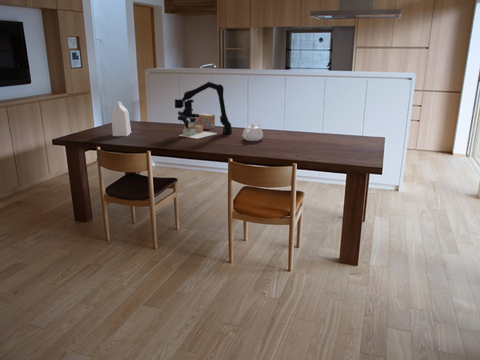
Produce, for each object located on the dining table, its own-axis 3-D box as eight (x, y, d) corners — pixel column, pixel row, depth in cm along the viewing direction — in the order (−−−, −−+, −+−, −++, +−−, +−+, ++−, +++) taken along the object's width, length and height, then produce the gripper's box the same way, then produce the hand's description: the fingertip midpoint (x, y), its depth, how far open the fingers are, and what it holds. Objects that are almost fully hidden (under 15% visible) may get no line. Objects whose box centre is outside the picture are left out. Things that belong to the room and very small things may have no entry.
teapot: (255, 144, 301) (255, 127, 297) (236, 141, 308) (236, 125, 304) (268, 137, 322) (269, 121, 318) (250, 135, 329) (251, 120, 325)
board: (217, 134, 333) (217, 133, 333) (197, 139, 315) (197, 138, 315) (199, 131, 345) (199, 130, 345) (178, 136, 327) (178, 135, 327)
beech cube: (193, 128, 328) (193, 122, 326) (189, 129, 324) (188, 123, 323) (189, 127, 331) (188, 121, 329) (184, 128, 327) (184, 122, 326)
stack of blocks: (191, 127, 361) (190, 113, 357) (195, 126, 366) (195, 112, 362) (210, 130, 350) (210, 115, 346) (215, 129, 355) (214, 114, 351)
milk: (127, 136, 328) (124, 103, 320) (112, 136, 328) (109, 103, 320) (131, 132, 339) (128, 100, 331) (117, 132, 340) (114, 100, 331)
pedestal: (195, 134, 330) (195, 129, 328) (189, 136, 324) (189, 130, 323) (189, 133, 334) (189, 128, 333) (183, 134, 329) (182, 129, 327)
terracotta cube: (203, 132, 339) (202, 125, 338) (198, 133, 335) (198, 126, 334) (198, 131, 342) (198, 125, 341) (194, 132, 338) (194, 126, 337)
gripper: (189, 105, 334) (190, 124, 339) (172, 108, 320) (173, 128, 325) (199, 106, 328) (200, 126, 333) (182, 109, 314) (183, 130, 319)
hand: (189, 127), depth 327 cm, fingers closed on beech cube, 5 cm apart
